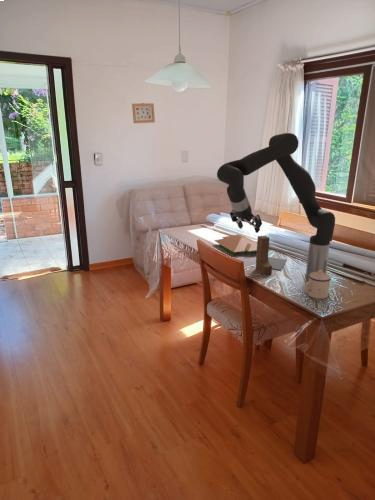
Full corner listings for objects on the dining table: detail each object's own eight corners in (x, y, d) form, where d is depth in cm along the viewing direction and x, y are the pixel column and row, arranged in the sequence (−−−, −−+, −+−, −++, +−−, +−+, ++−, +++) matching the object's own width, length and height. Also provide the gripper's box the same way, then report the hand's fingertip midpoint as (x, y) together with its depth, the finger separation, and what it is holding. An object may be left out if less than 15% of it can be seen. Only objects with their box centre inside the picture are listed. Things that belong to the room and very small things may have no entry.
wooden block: (271, 274, 185) (274, 240, 179) (263, 275, 183) (266, 240, 178) (262, 268, 193) (265, 235, 187) (255, 269, 191) (257, 236, 186)
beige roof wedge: (236, 259, 208) (236, 245, 206) (210, 243, 237) (211, 231, 235) (270, 254, 216) (271, 241, 214) (241, 239, 245) (242, 228, 243)
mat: (286, 260, 205) (286, 259, 205) (281, 270, 190) (281, 269, 190) (263, 257, 210) (263, 256, 210) (256, 266, 195) (256, 266, 195)
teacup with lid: (318, 289, 167) (321, 265, 164) (333, 297, 159) (336, 272, 156) (297, 293, 163) (299, 269, 159) (311, 302, 155) (314, 276, 151)
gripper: (259, 201, 153) (267, 226, 164) (230, 195, 161) (240, 220, 173) (250, 214, 150) (259, 239, 162) (222, 207, 159) (232, 232, 170)
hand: (249, 229), depth 167 cm, fingers open, 8 cm apart
